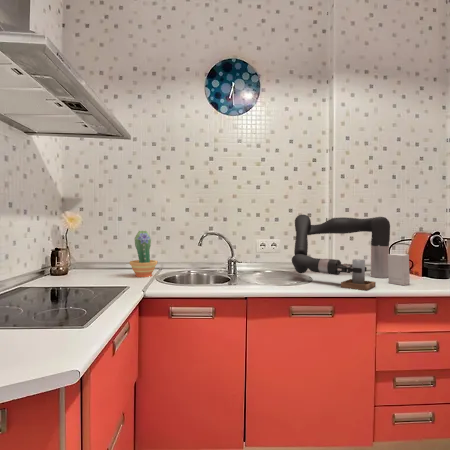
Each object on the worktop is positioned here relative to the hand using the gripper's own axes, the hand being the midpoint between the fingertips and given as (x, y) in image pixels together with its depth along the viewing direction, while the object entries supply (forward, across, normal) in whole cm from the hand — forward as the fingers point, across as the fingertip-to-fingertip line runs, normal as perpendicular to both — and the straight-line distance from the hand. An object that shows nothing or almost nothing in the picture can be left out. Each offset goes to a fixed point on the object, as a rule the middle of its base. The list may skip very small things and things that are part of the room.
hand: (363, 270), depth 174 cm
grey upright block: (-3, 0, +6) cm, 7 cm away
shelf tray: (-2, 0, +8) cm, 9 cm away
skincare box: (+9, +22, +8) cm, 25 cm away
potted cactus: (-104, -46, +9) cm, 115 cm away
